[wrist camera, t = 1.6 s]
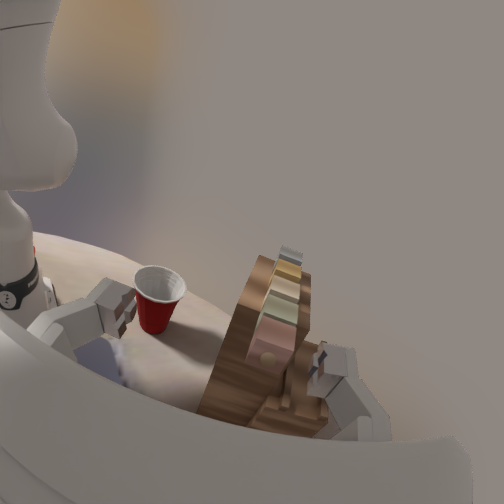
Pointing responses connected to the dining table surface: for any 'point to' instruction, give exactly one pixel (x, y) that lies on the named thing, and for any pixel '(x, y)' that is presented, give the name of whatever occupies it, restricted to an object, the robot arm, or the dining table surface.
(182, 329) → the dining table surface
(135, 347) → the dining table surface
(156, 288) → the plastic cup
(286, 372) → the walnut display stand
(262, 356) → the bead bar
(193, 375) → the dining table surface
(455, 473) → the robot arm
